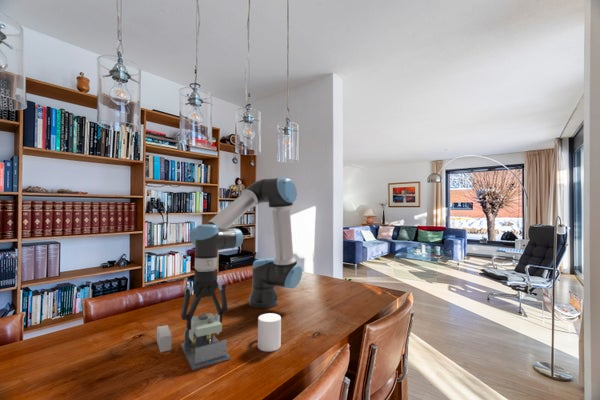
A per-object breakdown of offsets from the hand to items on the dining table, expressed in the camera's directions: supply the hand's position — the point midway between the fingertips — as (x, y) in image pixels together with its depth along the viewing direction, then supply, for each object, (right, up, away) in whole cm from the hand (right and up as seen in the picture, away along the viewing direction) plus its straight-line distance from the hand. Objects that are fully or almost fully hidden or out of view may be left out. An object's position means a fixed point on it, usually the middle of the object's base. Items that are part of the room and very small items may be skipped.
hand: (204, 335), depth 97 cm
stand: (-16, -6, +5) cm, 18 cm away
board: (0, +3, 0) cm, 3 cm away
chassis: (0, -6, 0) cm, 6 cm away
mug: (+21, -6, +6) cm, 23 cm away
